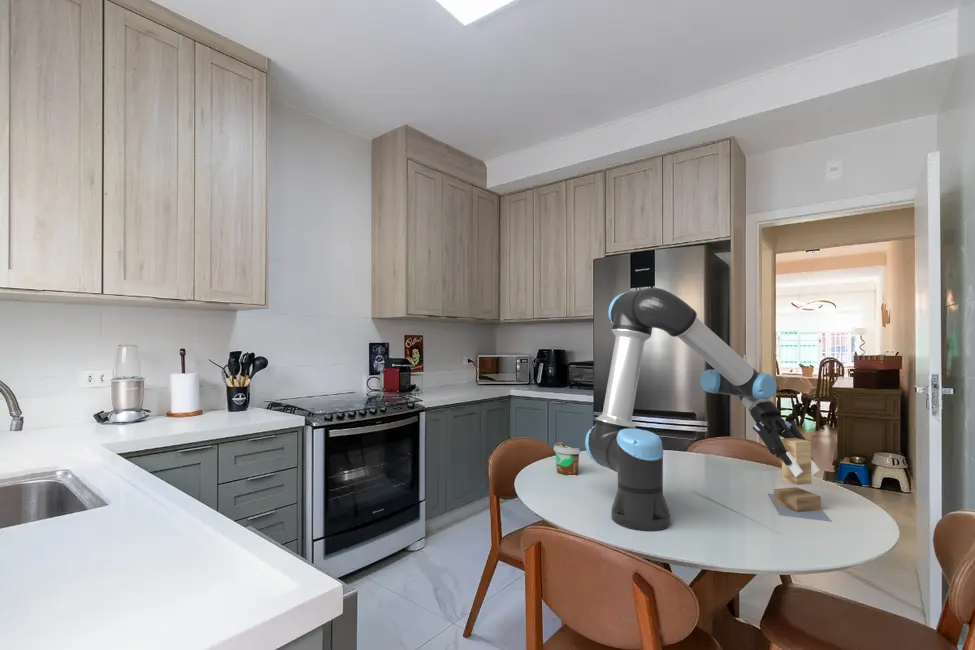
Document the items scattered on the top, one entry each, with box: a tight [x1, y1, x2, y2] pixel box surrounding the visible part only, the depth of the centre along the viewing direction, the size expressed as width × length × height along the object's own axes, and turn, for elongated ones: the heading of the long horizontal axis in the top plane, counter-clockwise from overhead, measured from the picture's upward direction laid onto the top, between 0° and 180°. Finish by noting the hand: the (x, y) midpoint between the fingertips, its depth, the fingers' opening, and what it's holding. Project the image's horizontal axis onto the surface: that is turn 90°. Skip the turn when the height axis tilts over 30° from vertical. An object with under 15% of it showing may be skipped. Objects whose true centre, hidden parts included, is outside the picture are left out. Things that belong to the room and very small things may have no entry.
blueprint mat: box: [767, 493, 833, 523], centre depth 135 cm, size 20×12×1 cm, turn 157°
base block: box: [773, 486, 822, 512], centre depth 136 cm, size 8×8×4 cm
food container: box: [553, 441, 581, 476], centre depth 172 cm, size 12×6×10 cm, turn 25°
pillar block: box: [780, 438, 813, 486], centre depth 136 cm, size 5×5×12 cm
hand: (807, 473), depth 132 cm, fingers closed on pillar block, 5 cm apart
